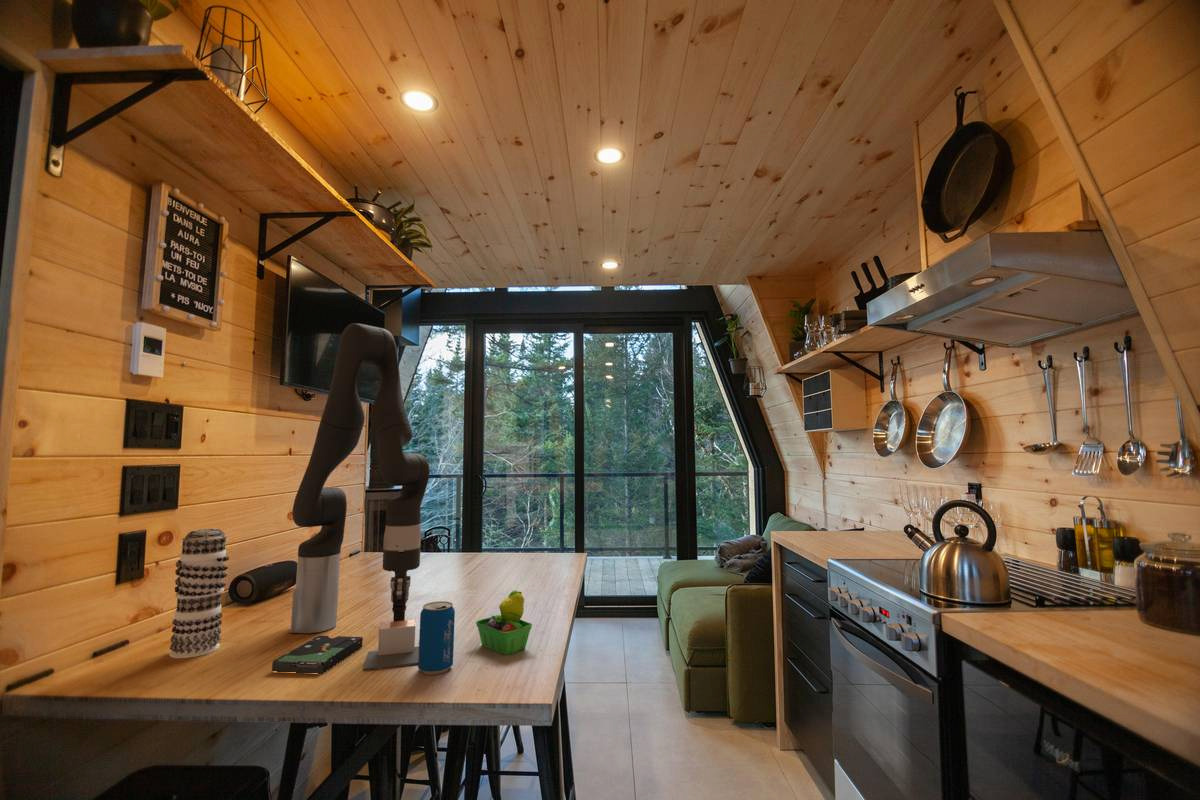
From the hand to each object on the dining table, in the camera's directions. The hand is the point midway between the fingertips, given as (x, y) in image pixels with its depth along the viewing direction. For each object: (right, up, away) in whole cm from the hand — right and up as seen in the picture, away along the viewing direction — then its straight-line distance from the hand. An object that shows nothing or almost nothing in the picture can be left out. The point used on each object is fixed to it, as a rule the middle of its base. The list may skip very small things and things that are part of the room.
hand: (398, 629), depth 110 cm
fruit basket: (+22, -5, +3) cm, 23 cm away
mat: (+1, -4, -4) cm, 6 cm away
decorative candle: (-43, -5, 0) cm, 43 cm away
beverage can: (+11, -4, -9) cm, 15 cm away
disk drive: (-14, -5, -5) cm, 16 cm away
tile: (0, -4, -2) cm, 4 cm away
